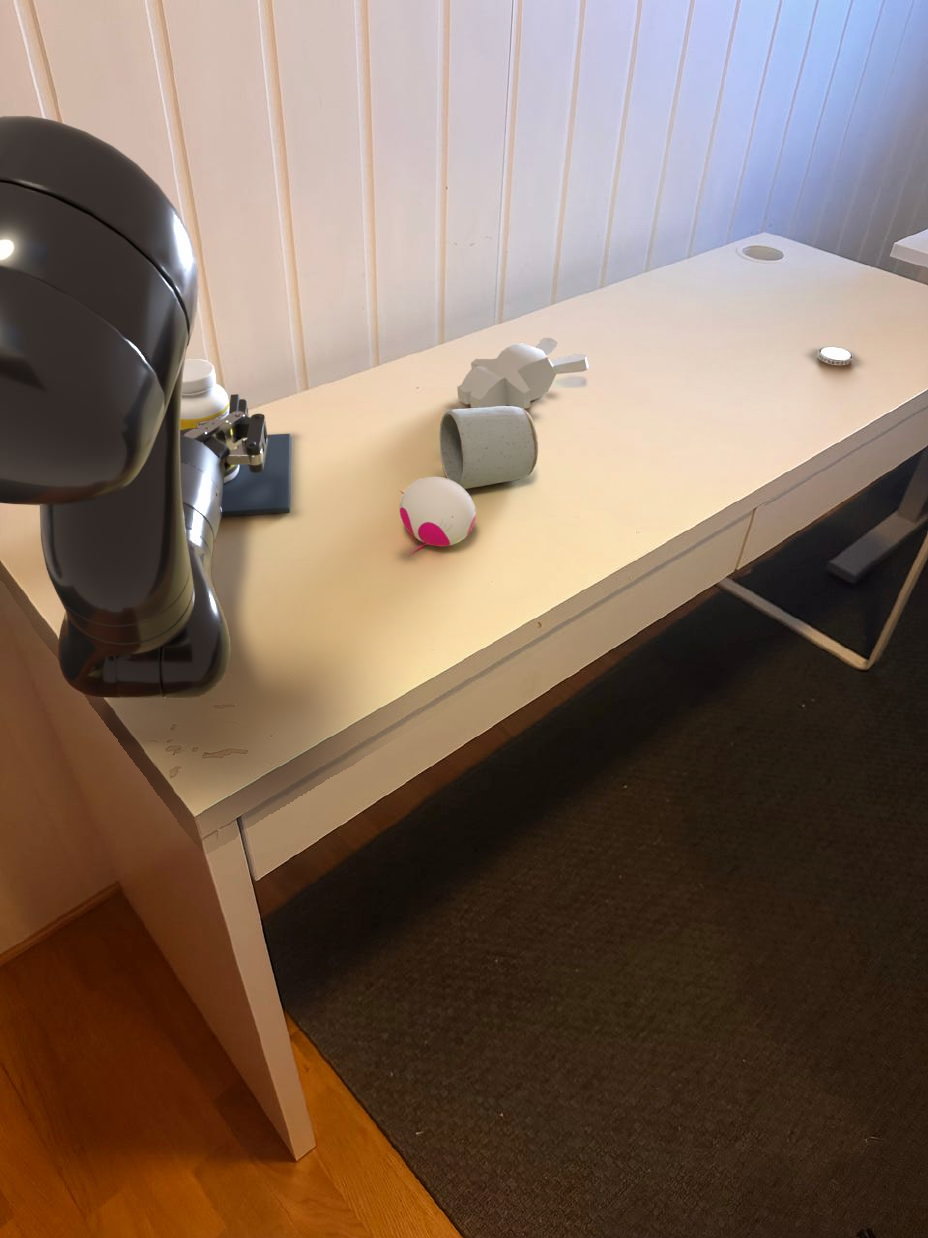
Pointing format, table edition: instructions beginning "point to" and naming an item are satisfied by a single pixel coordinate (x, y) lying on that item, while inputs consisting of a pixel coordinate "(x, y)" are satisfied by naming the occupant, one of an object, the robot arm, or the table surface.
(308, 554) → the table surface
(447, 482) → the stress ball
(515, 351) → the bunny figurine
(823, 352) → the white bottle cap
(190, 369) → the pill bottle
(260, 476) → the mat
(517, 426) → the ceramic mug
